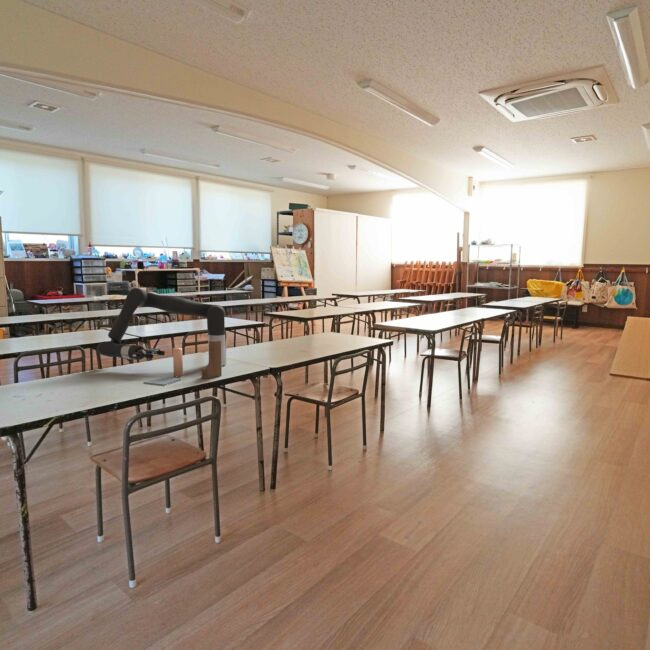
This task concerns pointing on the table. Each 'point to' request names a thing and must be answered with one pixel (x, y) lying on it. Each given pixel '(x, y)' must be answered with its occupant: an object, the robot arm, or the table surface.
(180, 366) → the tan tall cylinder
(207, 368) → the brown boot
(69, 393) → the table surface
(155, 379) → the rubber mat
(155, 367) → the table surface
